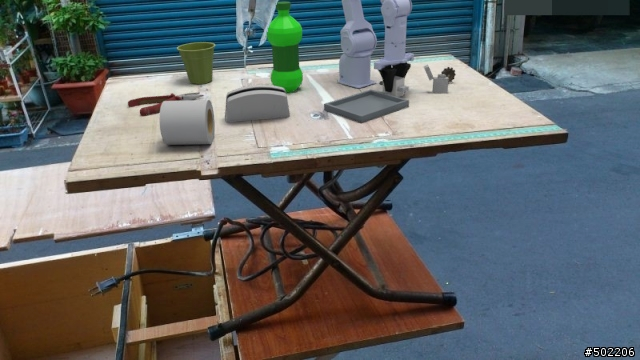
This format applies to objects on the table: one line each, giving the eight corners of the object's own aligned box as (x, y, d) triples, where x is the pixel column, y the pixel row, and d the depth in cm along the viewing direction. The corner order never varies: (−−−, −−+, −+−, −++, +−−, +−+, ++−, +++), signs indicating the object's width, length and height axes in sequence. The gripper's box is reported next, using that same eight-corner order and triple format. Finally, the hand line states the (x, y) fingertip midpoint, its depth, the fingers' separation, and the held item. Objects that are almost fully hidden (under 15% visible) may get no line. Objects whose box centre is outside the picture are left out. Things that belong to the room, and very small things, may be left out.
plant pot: (205, 74, 178) (201, 40, 173) (226, 80, 171) (223, 45, 166) (174, 82, 171) (169, 46, 166) (195, 89, 163) (190, 52, 158)
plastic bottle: (304, 84, 165) (301, -1, 154) (304, 94, 156) (300, 4, 145) (271, 85, 165) (266, 0, 154) (269, 95, 156) (263, 5, 145)
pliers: (211, 102, 152) (210, 93, 151) (142, 118, 142) (140, 109, 141) (193, 93, 161) (192, 85, 160) (127, 108, 150) (125, 99, 149)
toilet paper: (164, 151, 120) (156, 109, 116) (174, 135, 129) (168, 95, 125) (208, 150, 120) (203, 108, 116) (216, 134, 129) (211, 94, 125)
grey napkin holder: (287, 110, 144) (287, 79, 136) (290, 121, 140) (290, 90, 133) (224, 115, 141) (221, 84, 134) (226, 127, 138) (222, 95, 130)
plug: (376, 92, 156) (376, 75, 154) (384, 89, 158) (385, 73, 156) (401, 99, 149) (401, 82, 147) (409, 96, 151) (410, 79, 149)
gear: (453, 82, 164) (455, 65, 161) (455, 82, 163) (456, 66, 161) (439, 83, 162) (440, 67, 160) (440, 84, 161) (442, 68, 159)
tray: (324, 110, 143) (323, 103, 142) (370, 95, 153) (371, 89, 153) (361, 123, 133) (361, 116, 132) (408, 106, 144) (409, 100, 143)
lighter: (446, 91, 155) (449, 64, 152) (447, 93, 154) (449, 65, 150) (421, 91, 156) (423, 64, 152) (422, 93, 154) (424, 65, 151)
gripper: (388, 48, 140) (386, 98, 146) (423, 39, 148) (420, 87, 154) (368, 44, 145) (367, 93, 151) (404, 36, 153) (401, 82, 159)
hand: (393, 89), depth 153 cm, fingers closed on plug, 3 cm apart
